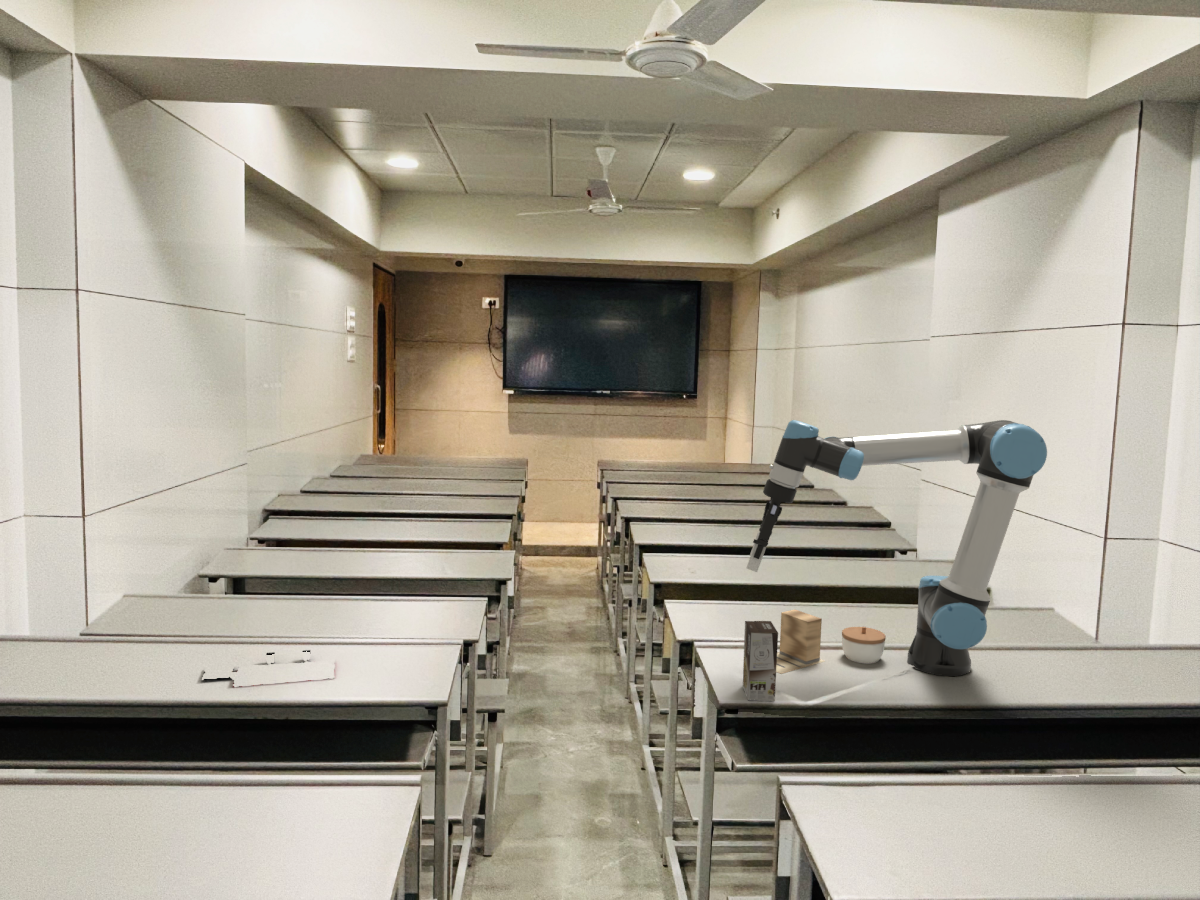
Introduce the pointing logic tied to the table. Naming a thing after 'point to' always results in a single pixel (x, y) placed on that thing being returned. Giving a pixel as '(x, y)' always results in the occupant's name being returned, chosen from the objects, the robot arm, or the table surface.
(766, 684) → the coffee box
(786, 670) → the board
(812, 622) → the block
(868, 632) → the lidded jar
